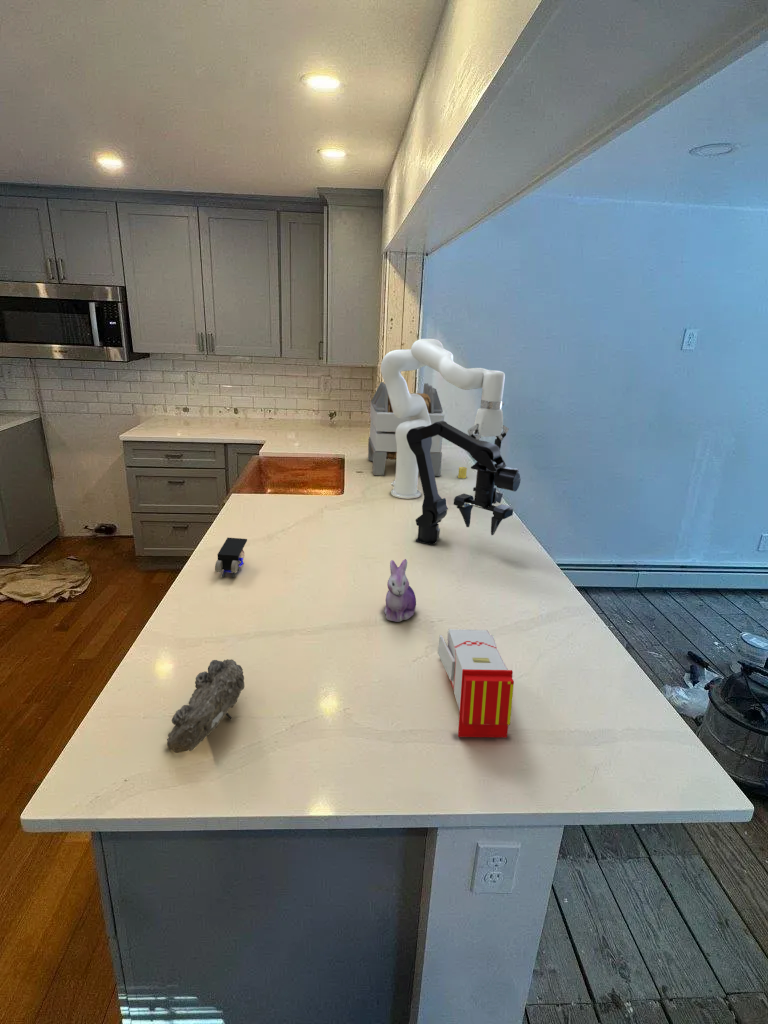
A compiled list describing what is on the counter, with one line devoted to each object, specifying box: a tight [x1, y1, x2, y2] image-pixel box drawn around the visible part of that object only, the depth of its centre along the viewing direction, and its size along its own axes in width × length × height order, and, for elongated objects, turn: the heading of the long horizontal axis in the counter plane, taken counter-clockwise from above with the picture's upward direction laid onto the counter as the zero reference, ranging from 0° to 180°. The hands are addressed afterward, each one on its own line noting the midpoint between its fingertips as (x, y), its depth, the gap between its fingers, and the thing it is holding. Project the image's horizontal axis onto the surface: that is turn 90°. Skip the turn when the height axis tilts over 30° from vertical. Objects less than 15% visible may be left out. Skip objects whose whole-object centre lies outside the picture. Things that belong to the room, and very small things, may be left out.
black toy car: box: [214, 537, 248, 578], centre depth 166 cm, size 7×8×15 cm
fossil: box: [166, 658, 245, 754], centre depth 106 cm, size 22×10×15 cm
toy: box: [437, 628, 515, 738], centre depth 117 cm, size 12×13×30 cm
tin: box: [457, 466, 468, 479], centre depth 271 cm, size 4×4×5 cm
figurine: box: [384, 558, 417, 623], centre depth 145 cm, size 9×10×15 cm
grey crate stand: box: [367, 381, 445, 477], centre depth 277 cm, size 34×33×41 cm
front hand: (480, 530), depth 182 cm, fingers open, 9 cm apart
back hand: (486, 450), depth 213 cm, fingers open, 9 cm apart
